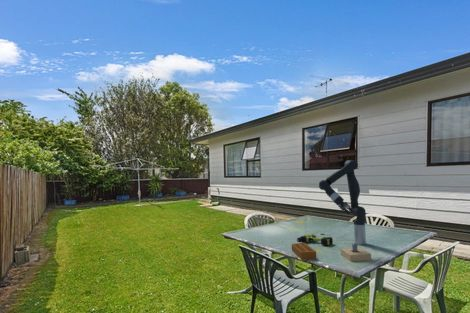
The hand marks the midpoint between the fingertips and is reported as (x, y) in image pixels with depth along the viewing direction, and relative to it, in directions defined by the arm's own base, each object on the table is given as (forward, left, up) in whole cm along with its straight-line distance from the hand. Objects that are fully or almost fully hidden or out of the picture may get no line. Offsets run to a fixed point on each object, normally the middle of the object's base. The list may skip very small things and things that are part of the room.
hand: (351, 212), depth 230 cm
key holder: (+18, -7, -31) cm, 36 cm away
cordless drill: (-23, -25, -31) cm, 46 cm away
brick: (+5, -43, -31) cm, 54 cm away
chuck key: (+18, -7, -31) cm, 36 cm away
